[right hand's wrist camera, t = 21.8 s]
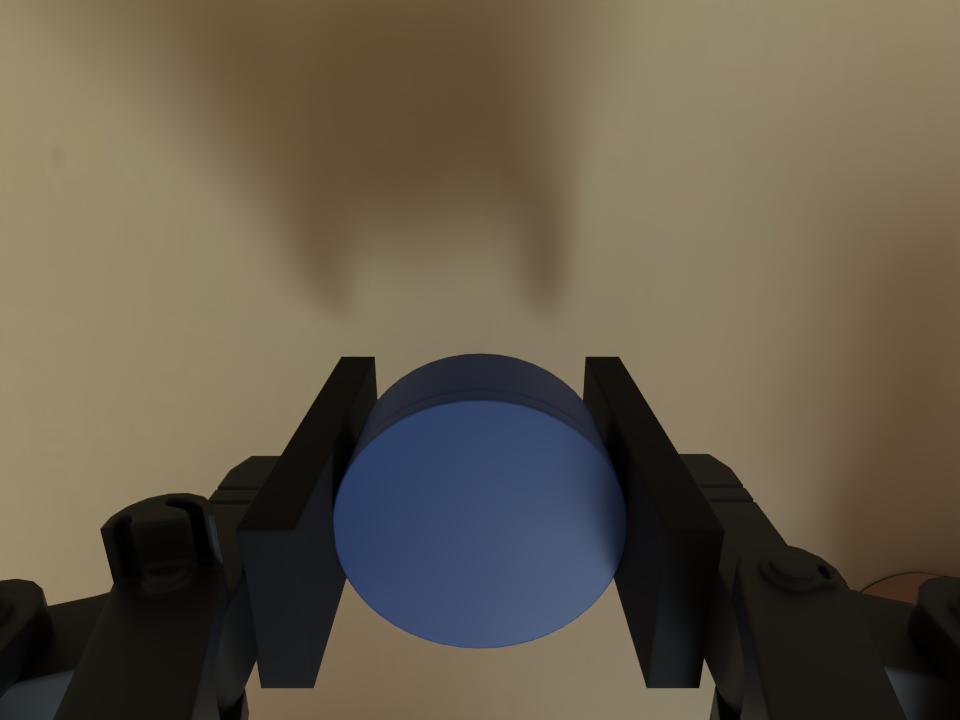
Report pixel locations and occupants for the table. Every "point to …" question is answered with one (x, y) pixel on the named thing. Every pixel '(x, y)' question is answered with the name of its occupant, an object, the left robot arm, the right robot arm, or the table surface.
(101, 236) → the table surface
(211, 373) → the table surface
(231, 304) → the table surface
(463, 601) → the lid
